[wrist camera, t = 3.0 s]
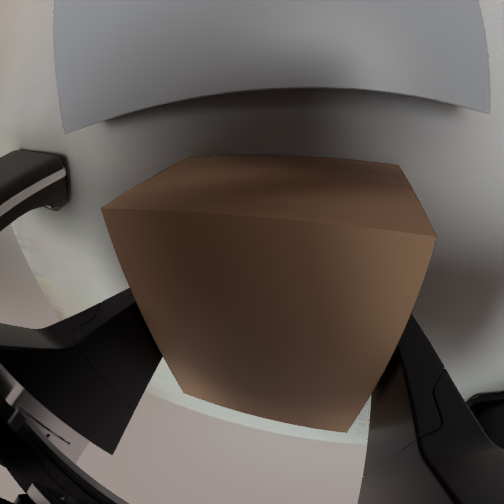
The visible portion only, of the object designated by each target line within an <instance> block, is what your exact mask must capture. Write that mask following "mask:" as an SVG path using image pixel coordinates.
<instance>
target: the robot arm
mask: <svg viewBox="0 0 504 504" xmlns="http://www.w3.org/2000/svg"><path fill="white" fill-rule="evenodd" d="M162 357H163V356H162V354H161V352H160V350H159V348H158V346H157V344H156V342H155V340H154V338H153V336H152V334H151V332H150V330H149V328H148V326H147V324H146V322H145V320H144V318H143V316H142V314H141V311H140V309H139V307H138V305H137V303H136V300H135V298H134V296H133V294H132V291H131V289H130V288H128V289H126V290H124V291H122V292H120V293H118V294H116V295H114V296H112V297H110V298H108V299H106V300H104V301H102V303H98V304H96V305H95V306H93V307H91V308H88V309H86V310H84V311H82V312H80V313H78V314H76V315H73V316H71V317H69V318H67V319H64V320H62V321H60V322H58V323H55V324H53V325H51V326H48V327H46V328H42V329H30V328H23V327H18V326H12V325H7V324H3V323H0V465H2V466H4V467H6V468H7V469H8V471H9V472H10V474H11V475H12V476H13V478H14V479H15V480H16V481H17V483H18V484H19V485H20V487H21V488H22V489H23V490H24V492H25V493H26V494H19V495H18V496H17V498H16V500H15V502H14V503H12V502H9V501H7V500H5V499H2V498H0V504H129V503H127V502H126V501H124V500H123V499H121V498H120V497H118V496H116V495H115V494H114V493H112V492H111V491H109V490H108V489H106V488H105V487H104V486H102V485H101V484H99V483H98V482H97V481H96V480H94V479H93V478H92V477H90V476H89V475H88V474H87V473H85V472H84V471H83V470H81V469H80V468H79V467H78V466H77V465H76V463H77V461H78V459H79V458H80V456H81V455H82V453H83V452H84V450H85V448H86V447H87V445H88V444H89V442H92V443H93V444H95V445H96V446H98V447H100V448H101V449H103V450H104V451H106V452H108V453H110V454H111V455H113V453H114V451H115V450H116V447H117V445H118V443H119V441H120V439H121V437H122V435H123V433H124V431H125V429H126V427H127V425H128V423H129V421H130V419H131V417H132V415H133V413H134V411H135V409H136V407H137V405H138V403H139V401H140V399H141V397H142V395H143V393H144V391H145V389H146V387H147V385H148V383H149V382H150V380H151V378H152V376H153V374H154V372H155V370H156V368H157V366H158V364H159V362H160V361H161V359H162ZM363 476H364V477H363V478H362V484H361V489H360V495H359V499H358V504H504V394H496V395H486V396H478V397H475V398H473V399H472V400H470V401H469V402H468V403H467V404H466V402H465V401H464V399H463V397H462V396H461V394H460V393H459V391H458V389H457V388H456V386H455V384H454V382H453V381H452V379H451V377H450V376H449V374H448V372H447V370H446V369H444V365H443V363H442V362H441V360H440V358H439V357H438V355H437V353H436V352H435V350H434V348H433V347H432V345H431V343H430V342H429V340H428V338H427V337H426V335H425V334H424V332H423V331H422V329H421V327H420V326H419V324H418V323H417V321H416V320H415V318H414V317H413V315H412V314H411V315H410V317H409V319H408V322H407V324H406V326H405V329H404V331H403V333H402V335H401V338H400V340H399V342H398V344H397V346H396V348H395V350H394V352H393V354H392V356H391V358H390V360H389V362H388V364H387V366H386V368H385V370H384V372H383V374H382V376H381V377H380V379H379V381H378V383H377V385H376V386H375V388H374V390H373V392H372V395H371V412H370V424H369V435H368V444H367V452H366V460H365V466H364V473H363Z"/></svg>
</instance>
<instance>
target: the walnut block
mask: <svg viewBox="0 0 504 504" xmlns="http://www.w3.org/2000/svg"><path fill="white" fill-rule="evenodd" d="M101 210H102V213H103V216H104V220H105V223H106V226H107V229H108V232H109V234H110V237H111V240H112V243H113V246H114V249H115V251H116V254H117V257H118V259H119V262H120V264H121V267H122V269H123V272H124V274H125V277H126V279H127V282H128V284H129V287H130V289H131V291H132V294H133V296H134V298H135V300H136V303H137V305H138V307H139V309H140V311H141V314H142V316H143V318H144V320H145V322H146V324H147V326H148V328H149V330H150V332H151V334H152V336H153V338H154V340H155V342H156V344H157V346H158V348H159V350H160V352H161V354H162V356H163V357H164V359H165V361H166V363H167V365H168V367H169V368H170V370H171V372H172V374H173V375H174V377H175V379H176V381H177V382H178V384H179V386H180V387H181V389H182V391H183V392H184V393H185V394H188V395H191V396H193V397H196V398H199V399H202V400H205V401H208V402H211V403H214V404H217V405H220V406H223V407H226V408H230V409H233V410H236V411H240V412H243V413H247V414H251V415H255V416H258V417H262V418H267V419H271V420H275V421H280V422H284V423H289V424H294V425H299V426H305V427H310V428H316V429H323V430H330V431H337V432H346V433H347V431H348V430H349V428H350V427H351V425H352V424H353V422H354V421H355V419H356V418H357V416H358V415H359V413H360V411H361V410H362V408H363V407H364V405H365V403H366V402H367V400H368V398H369V397H370V395H371V393H372V392H373V390H374V388H375V386H376V385H377V383H378V381H379V379H380V377H381V376H382V374H383V372H384V370H385V368H386V366H387V364H388V362H389V360H390V358H391V356H392V354H393V352H394V350H395V348H396V346H397V344H398V342H399V340H400V338H401V335H402V333H403V331H404V329H405V326H406V324H407V322H408V319H409V317H410V315H411V312H412V310H413V307H414V305H415V302H416V300H417V297H418V294H419V292H420V289H421V286H422V283H423V280H424V277H425V274H426V271H427V268H428V265H429V262H430V259H431V256H432V252H433V249H434V245H435V242H436V238H437V236H436V234H435V232H434V230H433V228H432V226H431V224H430V221H429V219H428V217H427V215H426V213H425V211H424V209H423V207H422V206H421V204H420V202H419V200H418V198H417V196H416V194H415V192H414V191H413V189H412V187H411V185H410V183H409V182H408V180H407V178H406V177H405V175H404V173H403V171H402V170H401V168H400V167H399V165H392V164H384V163H376V162H368V161H358V160H348V159H337V158H323V157H307V156H282V155H220V156H195V157H188V158H186V159H184V160H182V161H180V162H178V163H176V164H174V165H172V166H171V167H169V168H167V169H165V170H163V171H161V172H160V173H158V174H156V175H154V176H153V177H151V178H149V179H147V180H146V181H144V182H142V183H141V184H139V185H137V186H135V187H134V188H132V189H131V190H129V191H127V192H126V193H124V194H122V195H121V196H119V197H118V198H116V199H115V200H113V201H111V202H110V203H108V204H107V205H105V206H104V207H102V208H101Z"/></svg>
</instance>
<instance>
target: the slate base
mask: <svg viewBox="0 0 504 504" xmlns="http://www.w3.org/2000/svg"><path fill="white" fill-rule="evenodd" d="M53 35H54V59H55V72H56V81H57V90H58V97H59V104H60V110H61V116H62V122H63V127H64V132H65V134H67V133H70V132H73V131H75V130H78V129H81V128H84V127H87V126H90V125H93V124H96V123H99V122H102V121H105V120H108V119H112V118H115V117H118V116H121V115H125V114H128V113H132V112H135V111H139V110H143V109H147V108H151V107H155V106H159V105H164V104H168V103H173V102H178V101H183V100H188V99H194V98H199V97H206V96H212V95H219V94H227V93H235V92H245V91H256V90H270V89H293V88H327V89H350V90H363V91H374V92H383V93H391V94H399V95H405V96H411V97H417V98H423V99H428V100H433V101H438V102H442V103H446V104H451V105H455V106H459V107H463V108H468V109H472V110H476V111H480V112H483V113H487V114H490V72H489V59H488V50H487V42H486V35H485V29H484V23H483V18H482V13H481V9H480V5H479V1H478V0H54V20H53Z"/></svg>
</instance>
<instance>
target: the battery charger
mask: <svg viewBox="0 0 504 504" xmlns="http://www.w3.org/2000/svg"><path fill="white" fill-rule="evenodd" d="M65 175H66V171H65V167H64V166H63V162H62V158H61V157H59V156H56V155H51V154H45V153H38V152H30V151H20V150H15V151H12V152H10V153H8V154H6V155H4V156H2V157H1V158H0V231H2V230H3V229H4V228H5V227H6V226H8V225H9V224H10V223H12V222H13V221H14V220H16V219H17V218H18V217H20V216H22V215H23V214H25V213H26V212H28V211H30V210H32V209H35V208H39V207H43V206H44V207H46V208H48V209H51V210H53V211H58V210H60V209H62V208H63V207H64V206H65V204H66V200H67V190H66V182H65Z"/></svg>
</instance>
